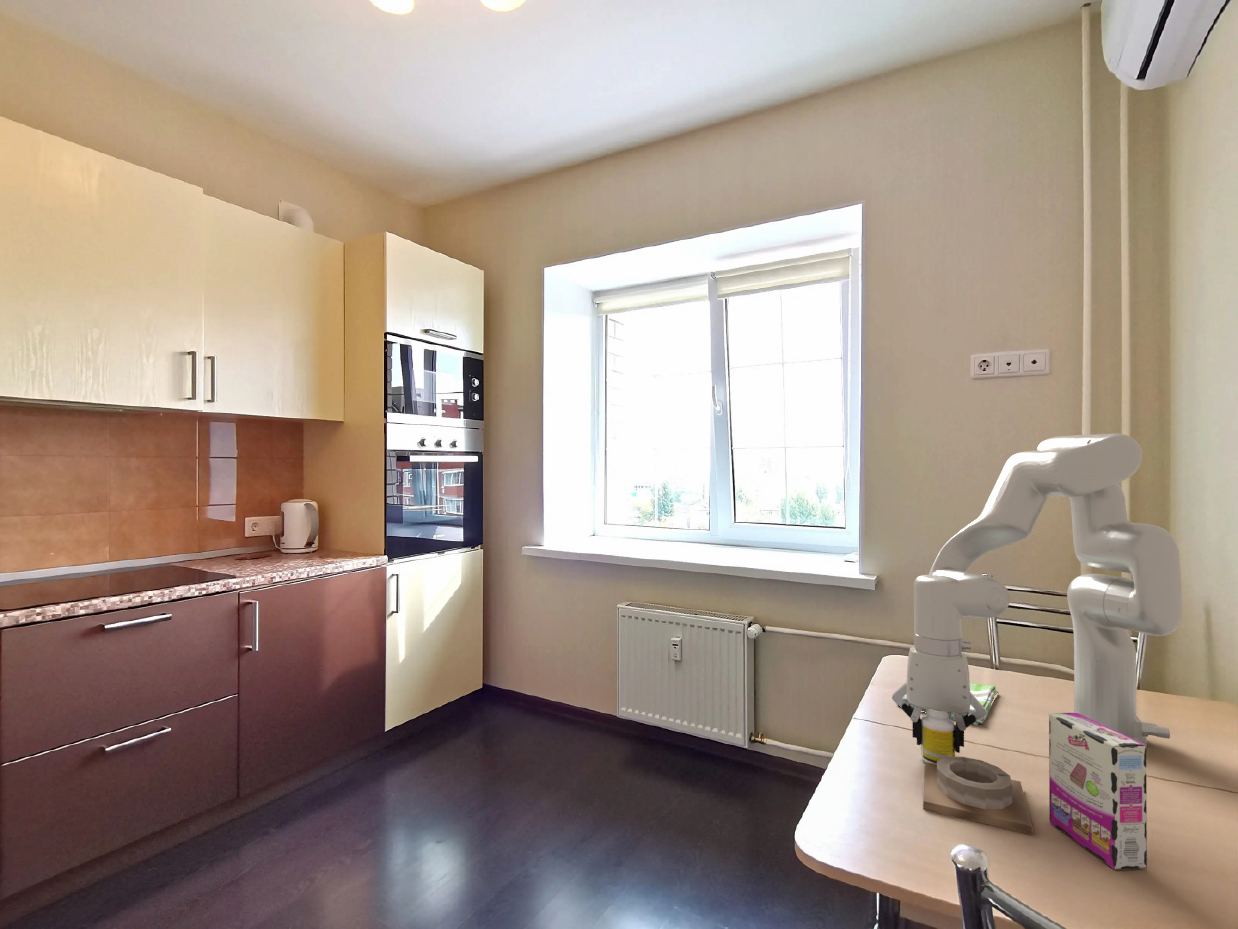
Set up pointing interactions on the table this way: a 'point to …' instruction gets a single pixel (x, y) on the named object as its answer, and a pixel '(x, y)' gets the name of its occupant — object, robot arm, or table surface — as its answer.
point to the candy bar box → (1098, 789)
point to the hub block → (975, 793)
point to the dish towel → (980, 693)
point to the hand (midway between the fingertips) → (937, 744)
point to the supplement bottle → (937, 736)
